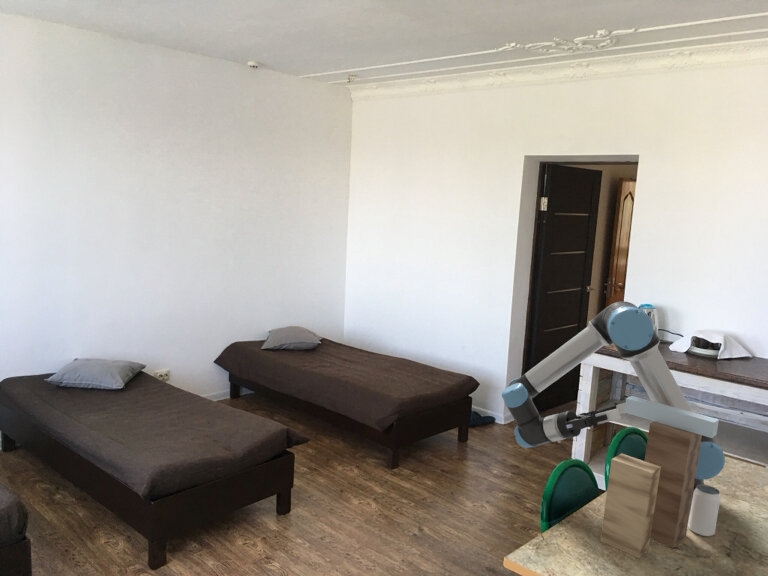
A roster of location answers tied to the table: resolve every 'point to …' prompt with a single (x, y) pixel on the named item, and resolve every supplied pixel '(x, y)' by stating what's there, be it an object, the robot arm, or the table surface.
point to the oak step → (630, 504)
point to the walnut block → (672, 479)
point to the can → (704, 510)
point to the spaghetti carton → (672, 416)
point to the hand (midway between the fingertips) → (629, 408)
